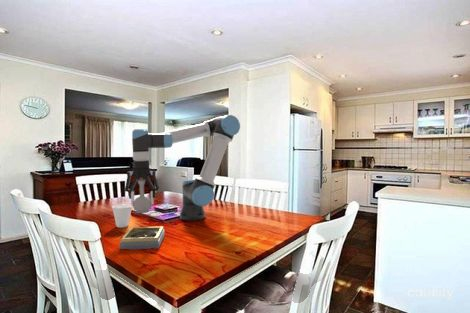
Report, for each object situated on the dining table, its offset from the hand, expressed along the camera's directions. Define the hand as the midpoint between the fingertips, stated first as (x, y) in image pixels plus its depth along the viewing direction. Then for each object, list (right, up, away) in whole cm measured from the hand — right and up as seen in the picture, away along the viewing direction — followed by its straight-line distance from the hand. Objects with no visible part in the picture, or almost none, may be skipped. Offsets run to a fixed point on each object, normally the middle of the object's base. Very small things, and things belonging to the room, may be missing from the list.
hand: (142, 204), depth 131 cm
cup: (-15, -14, +10) cm, 22 cm away
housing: (+5, -15, -13) cm, 20 cm away
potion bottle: (0, -4, 0) cm, 4 cm away
